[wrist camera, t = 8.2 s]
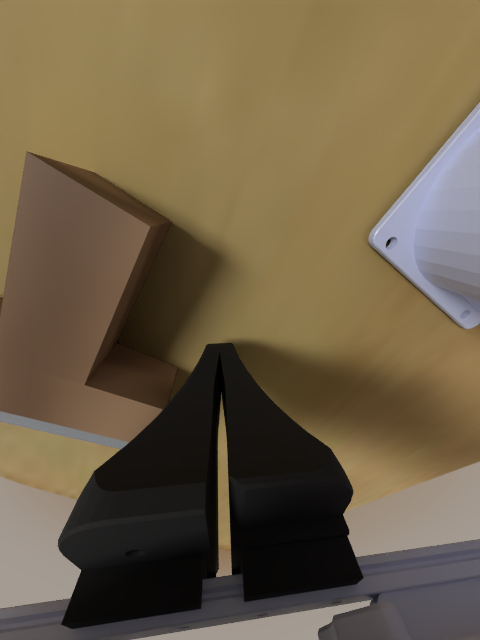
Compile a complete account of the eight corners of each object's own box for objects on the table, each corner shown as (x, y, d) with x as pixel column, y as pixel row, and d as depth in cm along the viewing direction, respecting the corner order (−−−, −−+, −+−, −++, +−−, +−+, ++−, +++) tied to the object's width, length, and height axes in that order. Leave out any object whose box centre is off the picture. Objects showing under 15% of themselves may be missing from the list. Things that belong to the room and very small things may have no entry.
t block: (241, 266, 10) (250, 287, 7) (157, 398, 13) (142, 445, 10) (-26, 95, 6) (-202, 13, 4) (-42, 333, 10) (-138, 378, 7)
